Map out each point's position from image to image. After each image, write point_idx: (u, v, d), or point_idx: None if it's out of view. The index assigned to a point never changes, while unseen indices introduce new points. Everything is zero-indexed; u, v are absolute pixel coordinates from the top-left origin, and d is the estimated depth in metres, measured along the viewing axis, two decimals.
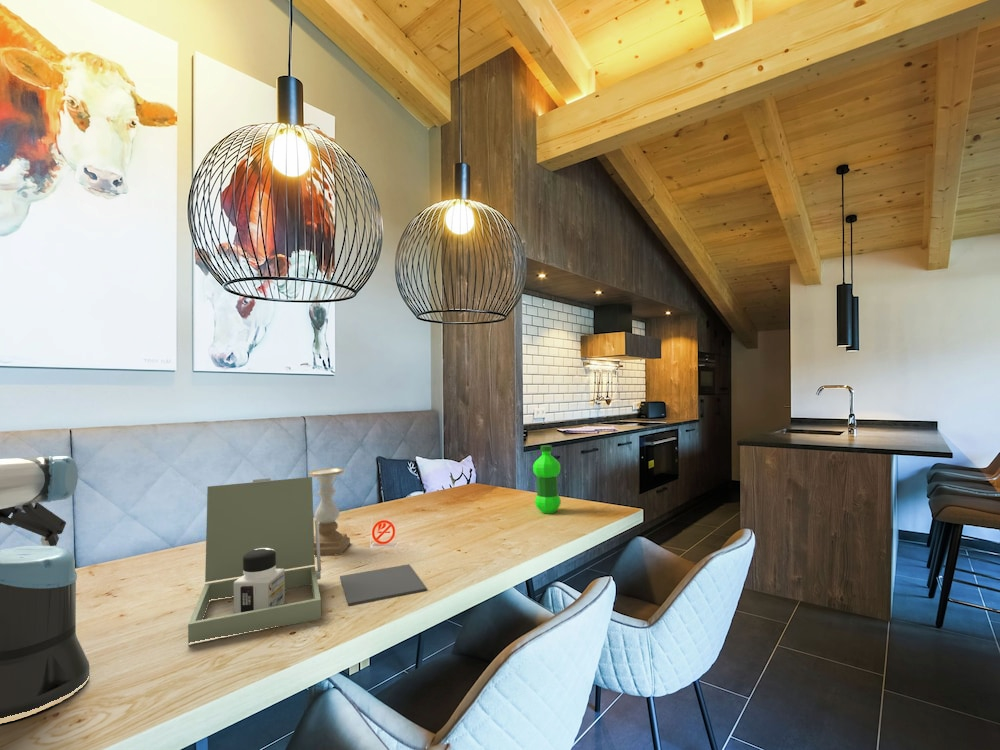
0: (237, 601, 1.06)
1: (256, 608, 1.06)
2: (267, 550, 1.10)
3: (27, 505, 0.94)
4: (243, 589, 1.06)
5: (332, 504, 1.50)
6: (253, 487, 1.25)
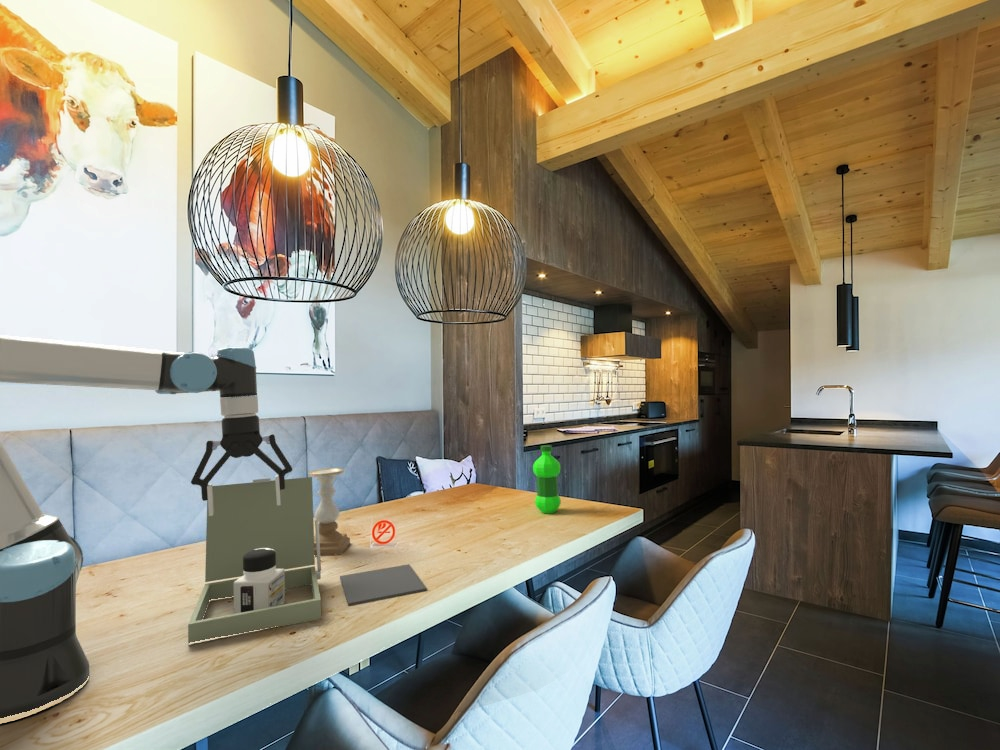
0: (237, 601, 1.06)
1: (256, 608, 1.06)
2: (267, 550, 1.10)
3: (273, 435, 1.14)
4: (243, 589, 1.06)
5: (332, 504, 1.50)
6: (253, 487, 1.25)
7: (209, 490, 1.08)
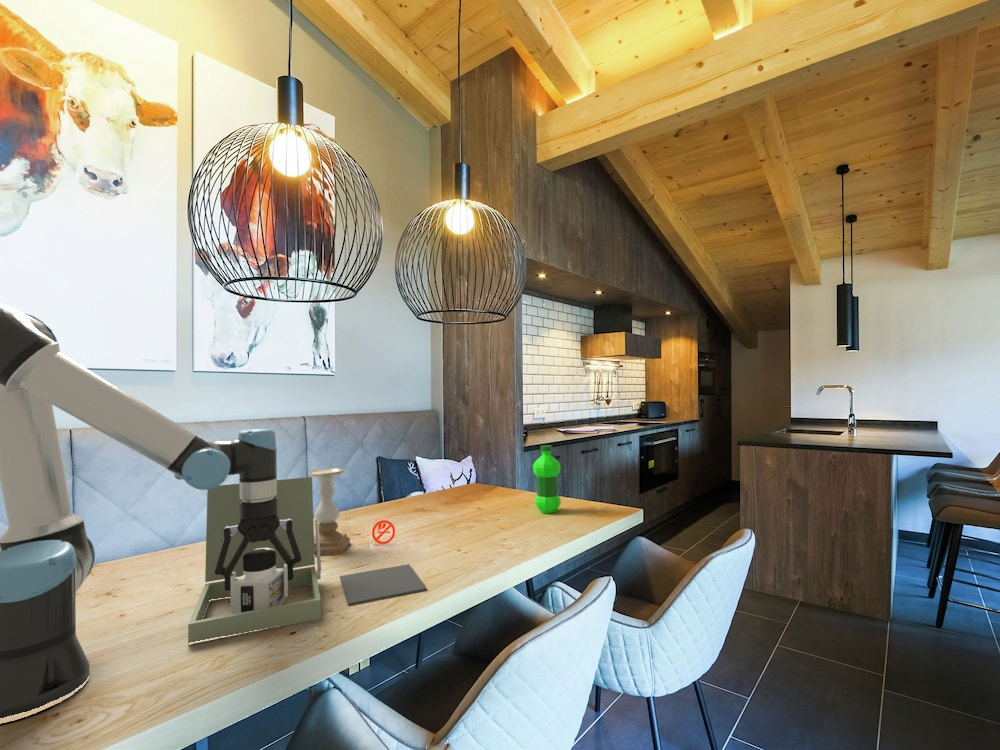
0: (237, 601, 1.06)
1: (256, 608, 1.06)
2: (267, 550, 1.10)
3: (291, 521, 1.11)
4: (243, 589, 1.06)
5: (332, 504, 1.50)
6: None
7: (232, 580, 1.06)
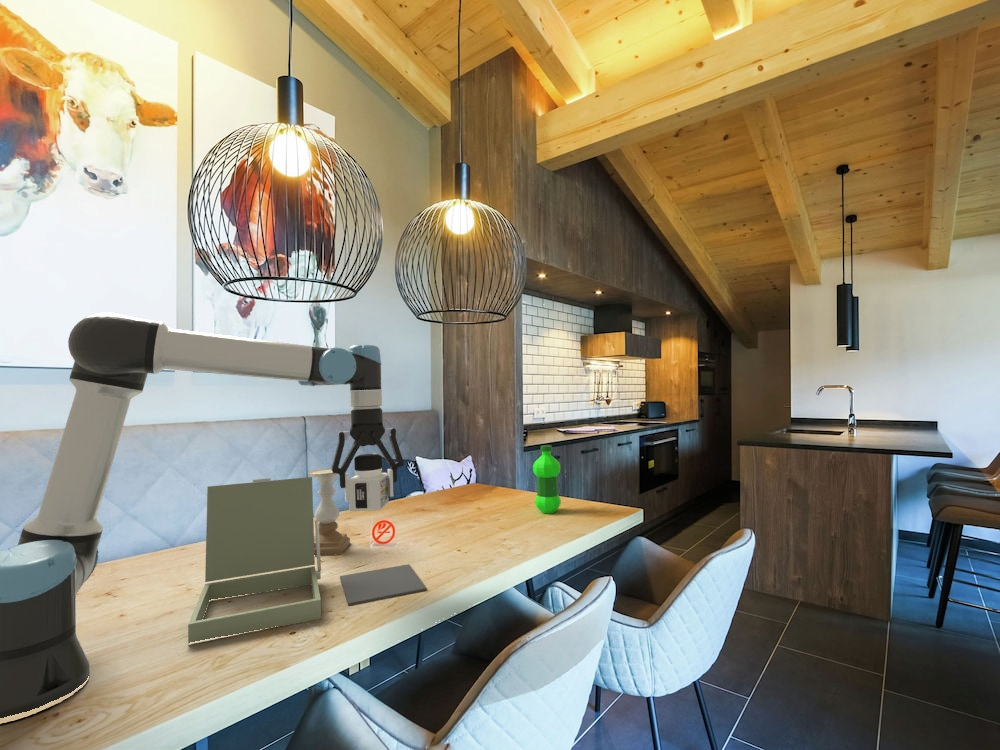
0: (352, 496, 1.18)
1: (369, 502, 1.18)
2: (375, 454, 1.22)
3: (394, 429, 1.23)
4: (357, 485, 1.18)
5: (332, 504, 1.50)
6: (253, 487, 1.25)
7: (347, 478, 1.18)
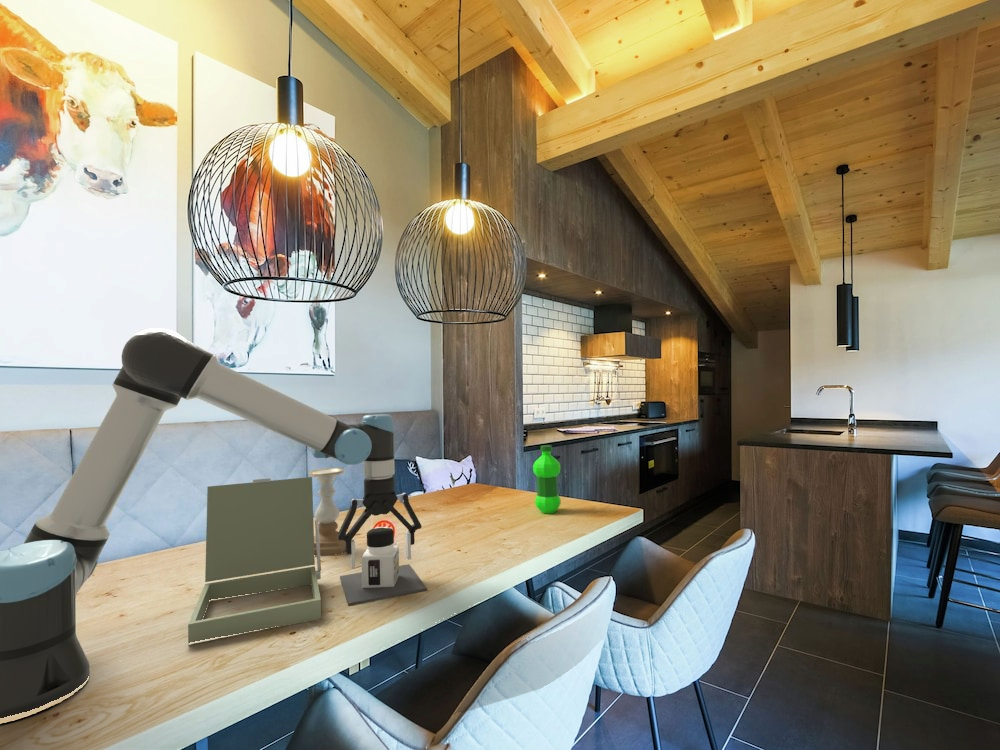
0: (365, 573, 1.18)
1: (382, 579, 1.18)
2: (387, 528, 1.23)
3: (406, 494, 1.24)
4: (370, 562, 1.18)
5: (332, 504, 1.50)
6: (253, 487, 1.25)
7: (353, 545, 1.18)
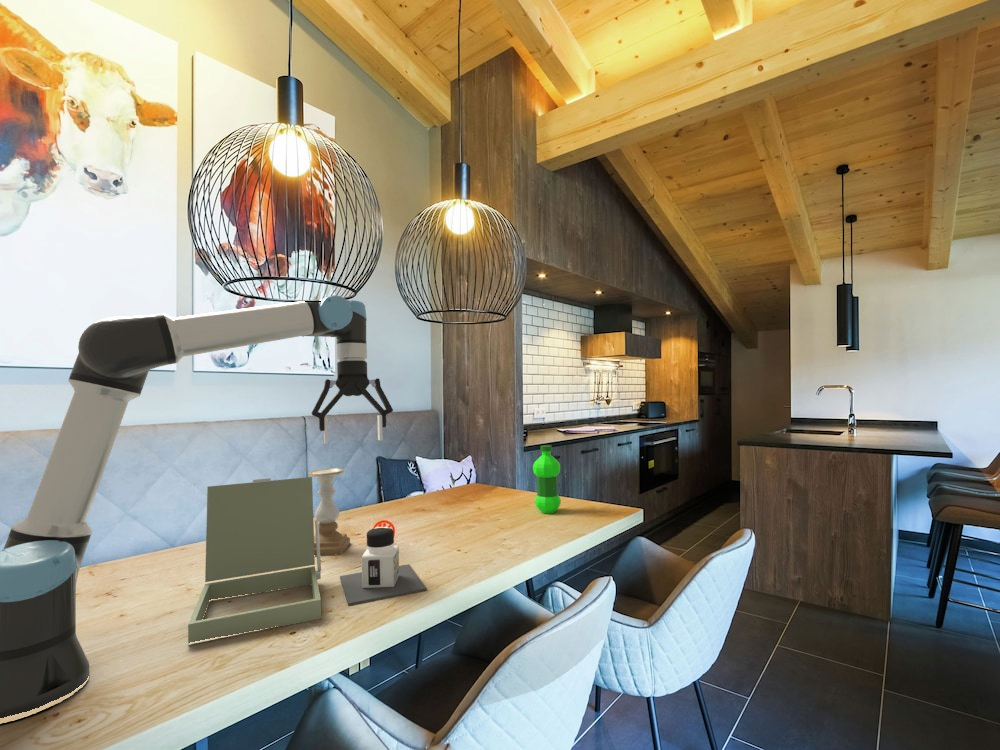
0: (365, 573, 1.18)
1: (382, 579, 1.18)
2: (387, 528, 1.23)
3: (378, 379, 1.30)
4: (370, 562, 1.18)
5: (332, 504, 1.50)
6: (253, 487, 1.25)
7: (326, 422, 1.24)
